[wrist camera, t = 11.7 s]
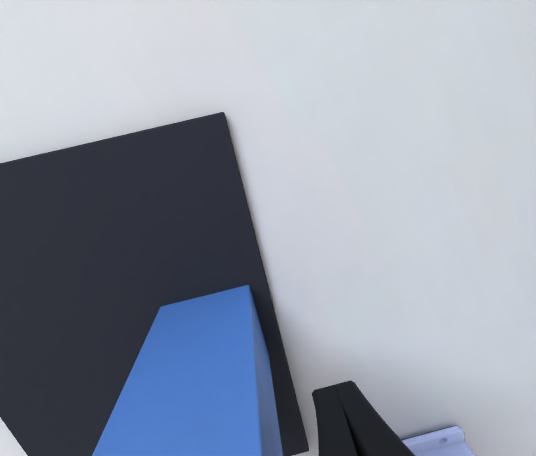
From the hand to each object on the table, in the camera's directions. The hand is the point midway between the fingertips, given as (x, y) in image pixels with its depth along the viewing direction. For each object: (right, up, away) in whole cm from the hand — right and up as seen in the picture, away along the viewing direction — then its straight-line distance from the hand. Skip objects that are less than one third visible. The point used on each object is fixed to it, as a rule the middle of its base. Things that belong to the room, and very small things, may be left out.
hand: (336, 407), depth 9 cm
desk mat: (-9, 0, +5) cm, 11 cm away
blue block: (-5, +1, +5) cm, 7 cm away
